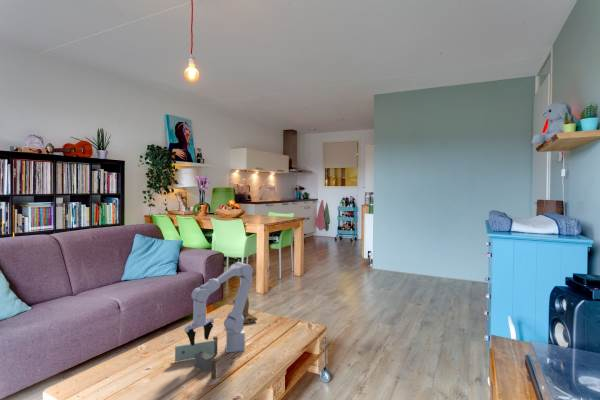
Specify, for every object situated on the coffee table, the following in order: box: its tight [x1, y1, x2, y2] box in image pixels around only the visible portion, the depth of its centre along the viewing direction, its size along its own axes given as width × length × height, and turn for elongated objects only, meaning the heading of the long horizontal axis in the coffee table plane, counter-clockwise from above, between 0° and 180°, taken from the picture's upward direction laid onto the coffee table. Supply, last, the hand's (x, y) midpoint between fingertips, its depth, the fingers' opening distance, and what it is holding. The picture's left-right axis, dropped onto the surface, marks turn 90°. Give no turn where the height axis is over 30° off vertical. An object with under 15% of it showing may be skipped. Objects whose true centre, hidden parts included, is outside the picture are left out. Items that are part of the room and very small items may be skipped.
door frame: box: [210, 336, 219, 380], centre depth 152 cm, size 2×24×8 cm, turn 13°
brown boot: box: [232, 296, 258, 324], centre depth 204 cm, size 15×12×15 cm
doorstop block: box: [194, 351, 215, 373], centre depth 149 cm, size 8×4×6 cm, turn 58°
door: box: [174, 339, 218, 362], centre depth 157 cm, size 19×2×7 cm, turn 113°
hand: (199, 341), depth 154 cm, fingers open, 7 cm apart
